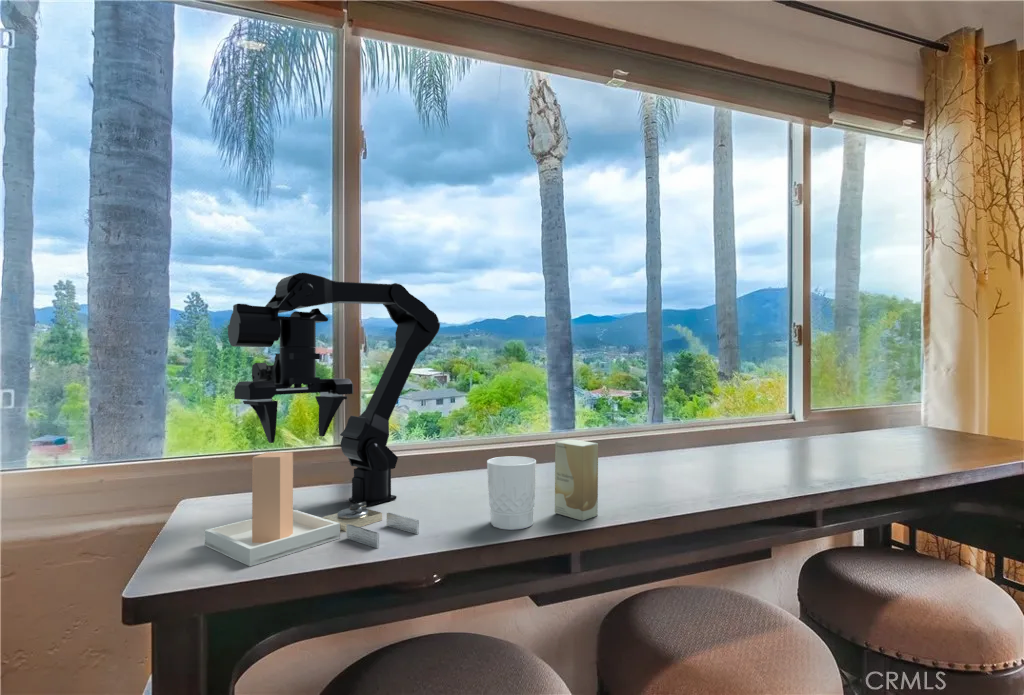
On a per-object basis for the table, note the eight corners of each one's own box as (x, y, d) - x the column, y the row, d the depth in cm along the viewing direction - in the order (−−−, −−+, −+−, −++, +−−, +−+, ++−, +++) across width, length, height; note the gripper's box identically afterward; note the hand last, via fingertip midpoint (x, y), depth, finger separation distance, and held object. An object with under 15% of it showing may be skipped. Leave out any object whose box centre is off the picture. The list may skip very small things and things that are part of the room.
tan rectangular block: (266, 533, 78) (266, 452, 78) (292, 533, 78) (293, 452, 78) (252, 542, 74) (252, 457, 74) (279, 542, 74) (280, 457, 74)
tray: (291, 522, 85) (291, 508, 85) (340, 538, 77) (340, 523, 77) (204, 545, 74) (204, 530, 75) (250, 566, 66) (250, 549, 67)
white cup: (547, 523, 83) (546, 460, 83) (511, 535, 78) (510, 467, 78) (512, 513, 89) (512, 454, 89) (477, 523, 83) (476, 460, 84)
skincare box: (553, 513, 88) (552, 441, 89) (570, 508, 91) (569, 438, 92) (584, 521, 84) (582, 445, 84) (600, 516, 87) (599, 442, 87)
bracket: (359, 514, 89) (359, 494, 89) (424, 531, 80) (424, 509, 80) (312, 527, 82) (312, 506, 82) (376, 548, 73) (376, 524, 73)
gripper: (320, 349, 101) (320, 430, 101) (219, 348, 87) (218, 442, 86) (355, 348, 95) (355, 434, 94) (251, 346, 80) (251, 448, 79)
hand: (297, 439), depth 89 cm, fingers open, 9 cm apart
